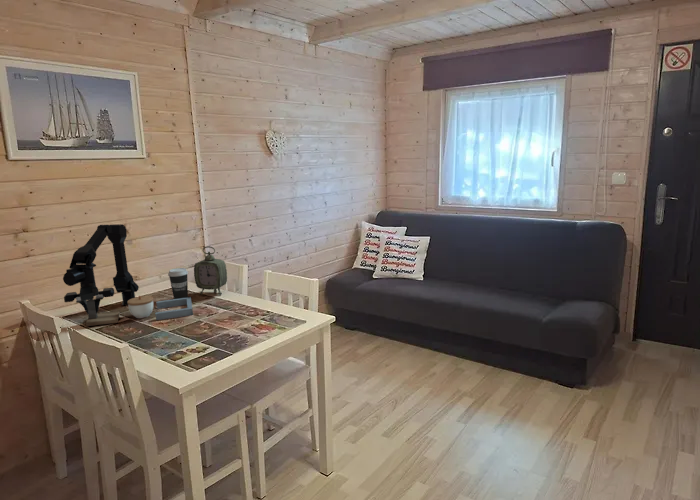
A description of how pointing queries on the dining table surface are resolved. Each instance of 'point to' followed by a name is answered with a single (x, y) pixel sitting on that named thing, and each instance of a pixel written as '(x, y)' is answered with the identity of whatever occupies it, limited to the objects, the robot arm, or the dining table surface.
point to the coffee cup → (179, 282)
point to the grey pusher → (100, 315)
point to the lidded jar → (141, 306)
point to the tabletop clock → (210, 273)
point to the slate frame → (174, 313)
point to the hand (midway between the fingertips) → (92, 313)
